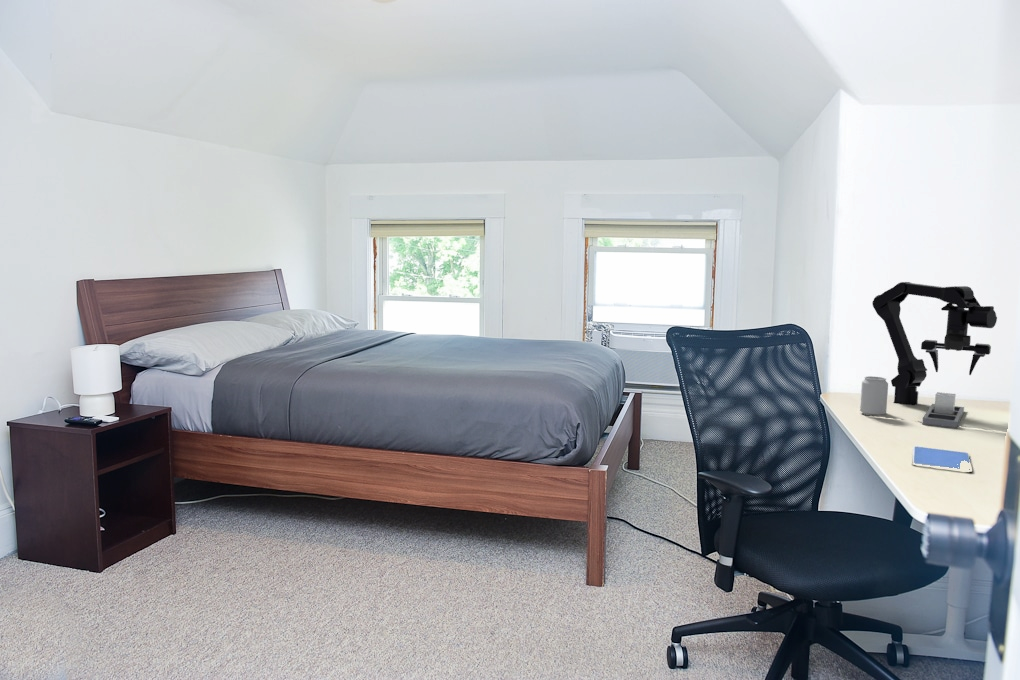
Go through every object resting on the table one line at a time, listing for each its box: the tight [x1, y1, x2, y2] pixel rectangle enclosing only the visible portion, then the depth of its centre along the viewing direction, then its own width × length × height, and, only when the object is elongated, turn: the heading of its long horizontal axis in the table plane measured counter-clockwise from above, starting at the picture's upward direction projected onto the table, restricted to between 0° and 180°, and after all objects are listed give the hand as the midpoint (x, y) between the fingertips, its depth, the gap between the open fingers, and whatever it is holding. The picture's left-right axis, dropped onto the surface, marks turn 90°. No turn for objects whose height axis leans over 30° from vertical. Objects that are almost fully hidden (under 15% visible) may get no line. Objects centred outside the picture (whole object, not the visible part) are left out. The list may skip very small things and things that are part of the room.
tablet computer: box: [912, 446, 970, 470], centre depth 179 cm, size 19×13×1 cm, turn 150°
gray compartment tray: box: [921, 403, 965, 429], centre depth 227 cm, size 9×27×2 cm, turn 145°
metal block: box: [934, 391, 957, 415], centre depth 226 cm, size 5×5×7 cm
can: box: [859, 375, 889, 417], centre depth 231 cm, size 8×8×12 cm
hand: (953, 373), depth 234 cm, fingers open, 9 cm apart
